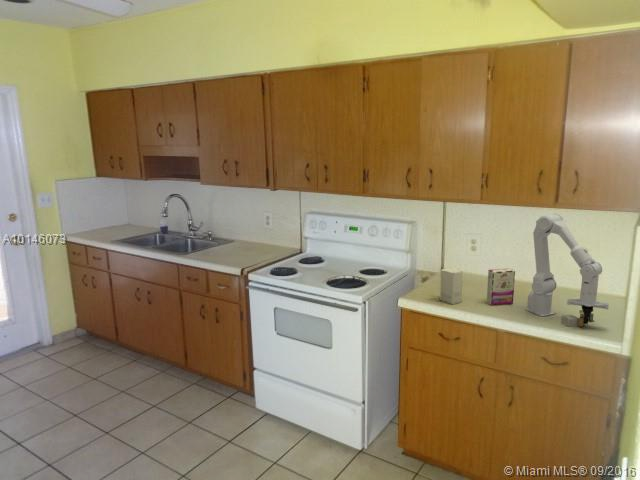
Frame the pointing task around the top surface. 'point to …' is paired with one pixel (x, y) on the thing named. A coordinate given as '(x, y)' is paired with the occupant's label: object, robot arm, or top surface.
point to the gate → (581, 318)
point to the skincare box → (451, 285)
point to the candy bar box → (500, 286)
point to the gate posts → (590, 318)
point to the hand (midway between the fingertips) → (585, 323)
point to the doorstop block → (570, 320)
